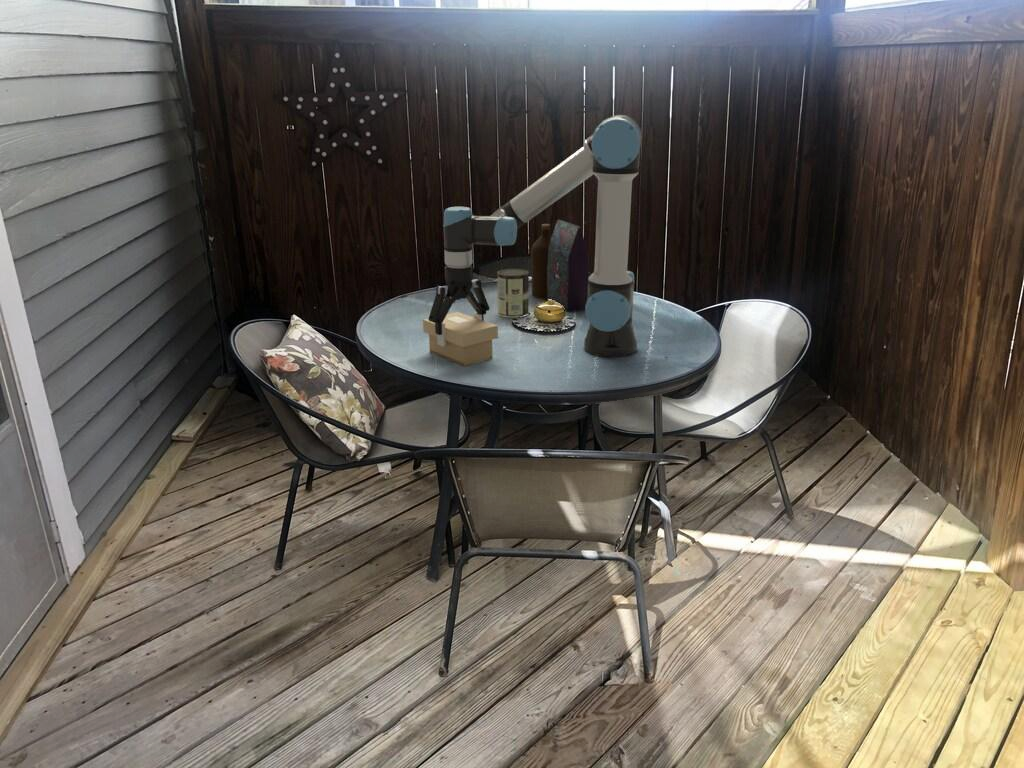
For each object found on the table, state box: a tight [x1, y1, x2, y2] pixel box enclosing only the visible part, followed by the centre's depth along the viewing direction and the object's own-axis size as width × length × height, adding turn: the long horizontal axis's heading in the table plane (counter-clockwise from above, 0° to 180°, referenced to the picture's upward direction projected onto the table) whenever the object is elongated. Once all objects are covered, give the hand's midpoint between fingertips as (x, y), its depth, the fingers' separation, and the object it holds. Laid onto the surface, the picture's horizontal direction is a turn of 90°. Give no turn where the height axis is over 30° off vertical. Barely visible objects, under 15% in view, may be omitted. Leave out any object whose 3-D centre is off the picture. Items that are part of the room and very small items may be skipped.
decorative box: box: [546, 219, 590, 313], centre depth 282 cm, size 8×16×28 cm, turn 24°
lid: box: [422, 311, 499, 347], centre depth 235 cm, size 18×12×4 cm
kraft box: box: [428, 334, 493, 367], centre depth 236 cm, size 16×10×9 cm, turn 41°
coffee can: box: [496, 268, 530, 319], centre depth 274 cm, size 10×10×14 cm
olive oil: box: [530, 223, 552, 299], centre depth 296 cm, size 11×11×25 cm
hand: (460, 340), depth 236 cm, fingers closed on lid, 12 cm apart
